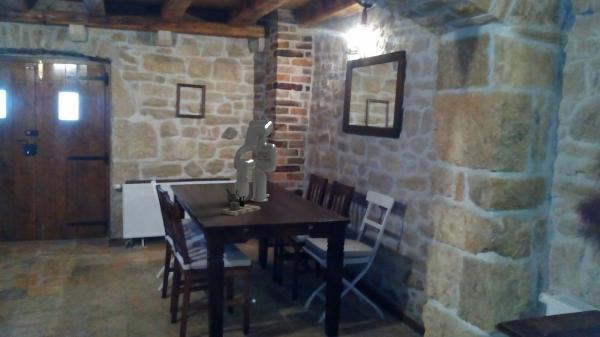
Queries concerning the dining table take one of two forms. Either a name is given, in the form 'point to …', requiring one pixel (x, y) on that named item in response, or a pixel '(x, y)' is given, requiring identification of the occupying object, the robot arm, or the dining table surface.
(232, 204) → the fader knob
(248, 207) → the fader board
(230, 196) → the mortar and pestle
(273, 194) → the dining table surface
